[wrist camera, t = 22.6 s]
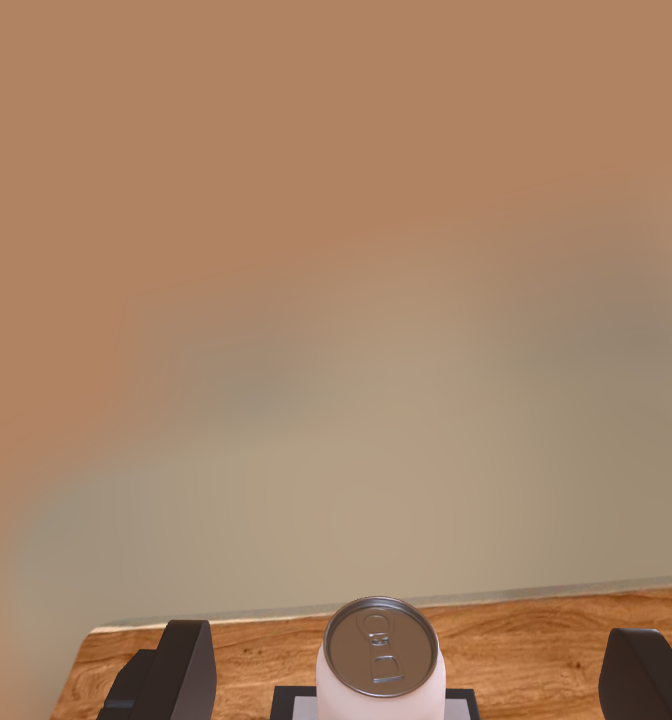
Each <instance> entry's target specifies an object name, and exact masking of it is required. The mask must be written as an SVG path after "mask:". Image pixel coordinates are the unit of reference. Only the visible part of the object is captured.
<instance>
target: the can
mask: <svg viewBox="0 0 672 720" xmlns="http://www.w3.org/2000/svg"><path fill="white" fill-rule="evenodd" d="M316 688H317V709H318V720H444V709H445V691H446V672H445V664H444V660H443V657H442V654H441V651H440V649H439V643H438V639H437V635H436V633H435V630H434V628H433V626H432V625H431V623H430V622H429V620H428V619H427V618H426V617H425V616H424V615H423V614H422V613H421V612H420V611H419V610H417V609H416V608H415V607H413V606H412V605H410V604H408V603H406V602H404V601H401V600H398V599H395V598H391V597H383V596H372V597H365V598H360V599H357V600H355V601H352V602H350V603H348V604H346V605H345V606H343V607H342V608H341V609H339V610H338V611H337V612H336V613H335V614H334V615H333V617H332V618H331V619H330V621H329V623H328V625H327V627H326V629H325V633H324V637H323V642H322V645H321V647H320V649H319V653H318V657H317V664H316Z"/></svg>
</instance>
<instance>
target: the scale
mask: <svg viewBox="0 0 672 720" xmlns="http://www.w3.org/2000/svg"><path fill="white" fill-rule="evenodd" d="M270 720H318V709H317V688H316V686H275V689H274V696H273V702H272V708H271V715H270ZM444 720H481V719H480V715H479V711H478V706H477V702H476V698H475V693H474V690H473V689H446V691H445V709H444Z"/></svg>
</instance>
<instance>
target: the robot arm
mask: <svg viewBox="0 0 672 720" xmlns="http://www.w3.org/2000/svg"><path fill="white" fill-rule="evenodd" d="M216 683H217V675H216V666H215V659H214V651H213V644H212V637H211V630H210V624H209V622H208V621H207V620H171V621H169V623H168V624H167V626H166V628H165V630H164V632H163V635H162V637H161V640H160V642H159V644H158V647H157V649H156V650H149V649H140V650H139V651H138V652H137V653H136V654H135V655H134V656H133V657H132V658H131V660H130V661H129V662H128V663H127V664H126V665H125V666H124V667H123V668H122V670H121V671H120V672H119V673H118V674H117V676H116V679H115V681H114V683H113V685H112V687H111V689H110V691H109V693H108V695H107V698H106V700H105V702H104V707H103V708H101V710H100V712H99V715H98V717H97V719H96V720H210V718H211V714H212V710H213V706H214V701H215V694H216ZM598 689H599V699H600V704H601V708H602V711H603V714H604V717H605V720H672V648H671V647H670V645H669V644H668V643H667V641H666V640H665V638H664V637H663V635H662V634H661V633H660V632H658V631H657V630H655V629H635V628H614V629H612V630H611V632H610V635H609V639H608V643H607V648H606V652H605V656H604V661H603V665H602V669H601V674H600V678H599V685H598Z"/></svg>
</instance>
